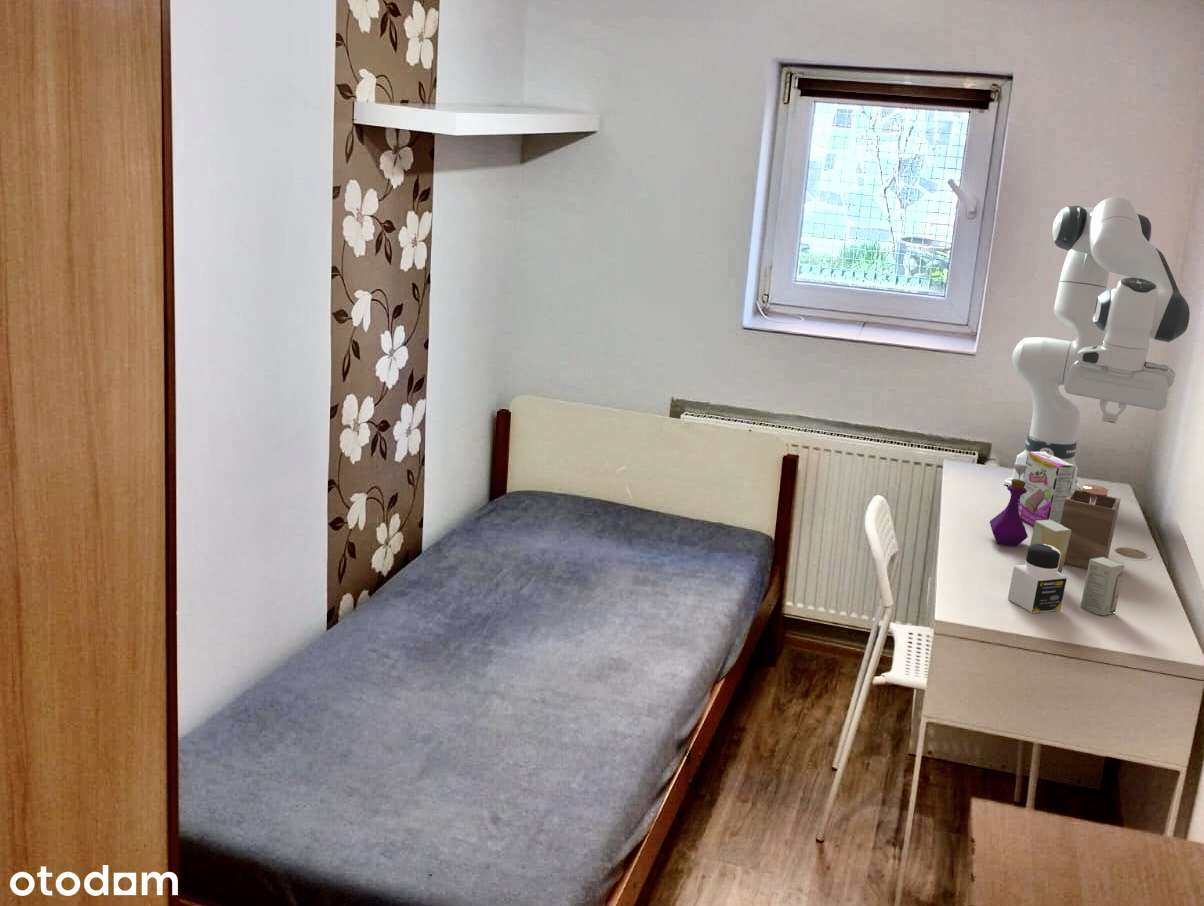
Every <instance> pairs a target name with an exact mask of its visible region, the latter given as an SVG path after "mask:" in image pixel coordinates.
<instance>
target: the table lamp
mask: <svg viewBox="0 0 1204 906" xmlns="http://www.w3.org/2000/svg"><path fill="white" fill-rule="evenodd" d="M1081 491H1082V492H1083V493H1084V494H1087V495H1090V496H1091V497H1090V502H1089V504H1093V505H1095V503H1096V498H1097V497H1106V496H1108V492H1109V489H1108V488H1107V487H1104V486H1102V485H1097V484H1091V483H1089V484H1088V483H1087V484H1086V483H1085V484H1083V485H1082V490H1081Z"/></svg>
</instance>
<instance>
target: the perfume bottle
mask: <svg viewBox="0 0 1204 906" xmlns="http://www.w3.org/2000/svg"><path fill="white" fill-rule="evenodd" d="M1014 467H1015V470H1016V472H1017V473H1018V475H1019V479H1013V480H1012V485H1010V486H1007V490H1008V491H1009V493H1010V498H1009V501H1008V504H1007V506H1006V507H1005V508H1004V509H1003V510H1002V511H1001V512H999V513H998V514H997V515H996V516H995V517H993V518H992V519H991V520H990V521H989V524H990V525H989V526H990V527H991V532H992V535H993V538H994V540H995V543H996V544H997V545H1002V546H1006V547H1013V548H1017V547H1018V546H1019V545H1020V544H1022V543H1023V542H1024V541H1025V540H1026V539H1027V538H1028V537H1029V535H1028V533H1027V530H1026V526H1025V524H1024V521H1022V520H1021V517H1020V514H1019V510H1018V504H1019V499H1020V496H1021V495H1022V494H1024V493H1026V492H1027V490H1026V488H1024V486H1025V484H1026V483H1025V482H1024V481H1022V480H1020V476H1021V475H1022V474H1023V473H1024V472H1025V470H1026V468H1027V466H1026V465H1022V464H1015V463H1014V464H1013V468H1014Z"/></svg>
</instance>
